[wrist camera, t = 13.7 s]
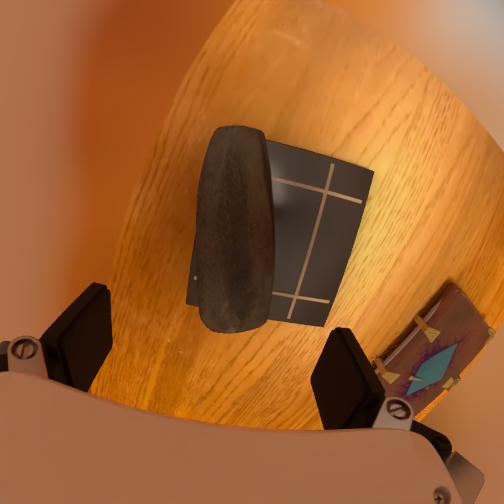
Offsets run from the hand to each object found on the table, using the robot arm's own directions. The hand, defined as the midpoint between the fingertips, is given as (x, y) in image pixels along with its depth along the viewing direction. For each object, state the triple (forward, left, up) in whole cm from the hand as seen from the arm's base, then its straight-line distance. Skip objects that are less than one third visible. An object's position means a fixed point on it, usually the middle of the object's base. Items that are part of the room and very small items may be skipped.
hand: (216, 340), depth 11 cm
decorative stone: (0, +1, -14) cm, 14 cm away
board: (+4, +1, -15) cm, 16 cm away
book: (+29, -14, -15) cm, 35 cm away
